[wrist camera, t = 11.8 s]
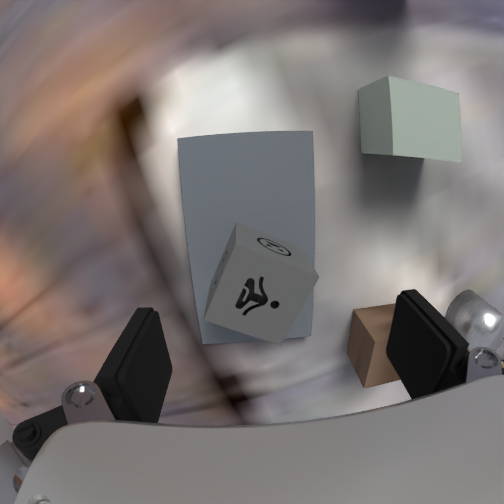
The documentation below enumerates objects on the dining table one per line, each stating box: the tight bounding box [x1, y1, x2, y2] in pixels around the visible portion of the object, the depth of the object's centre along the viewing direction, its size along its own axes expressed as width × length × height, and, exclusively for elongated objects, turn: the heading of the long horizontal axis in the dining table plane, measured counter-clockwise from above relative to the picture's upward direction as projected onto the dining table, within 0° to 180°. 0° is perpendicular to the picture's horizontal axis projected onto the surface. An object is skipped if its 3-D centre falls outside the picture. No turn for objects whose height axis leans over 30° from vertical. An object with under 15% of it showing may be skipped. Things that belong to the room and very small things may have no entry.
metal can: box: [445, 290, 504, 351], centre depth 22 cm, size 5×5×6 cm
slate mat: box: [177, 131, 315, 344], centre depth 21 cm, size 9×16×1 cm, turn 3°
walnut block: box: [347, 303, 400, 388], centre depth 23 cm, size 6×5×5 cm
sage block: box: [358, 76, 462, 163], centre depth 17 cm, size 6×5×5 cm
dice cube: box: [204, 222, 319, 345], centre depth 19 cm, size 5×5×5 cm
